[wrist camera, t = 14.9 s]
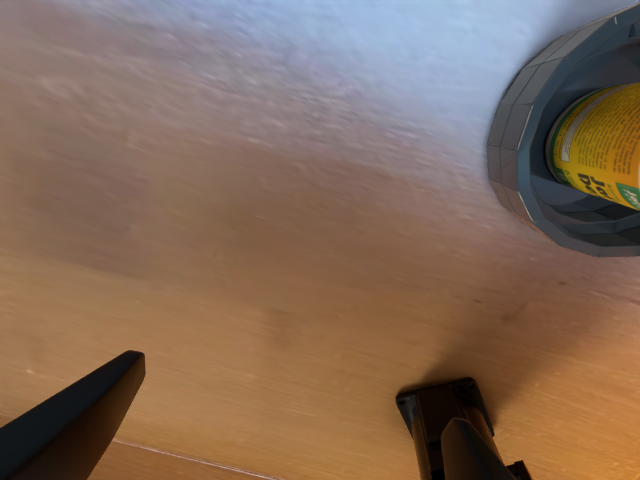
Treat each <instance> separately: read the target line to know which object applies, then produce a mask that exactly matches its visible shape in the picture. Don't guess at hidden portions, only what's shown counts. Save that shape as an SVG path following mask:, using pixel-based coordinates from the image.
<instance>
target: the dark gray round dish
mask: <svg viewBox="0 0 640 480" xmlns="http://www.w3.org/2000/svg"><path fill="white" fill-rule="evenodd" d="M638 82H640V2H638V3H636V4H633V5H631V6H628V7H626V8H623V9H621V10H618V11H616V12H613V13H611V14H608V15H606V16H604V17H601V18H599V19H597V20H595V21H593V22H590V23H588V24H586V25H584V26H582V27H580V28H577V29H575V30H573V31H571V32H569V33H567V34H565V35H562V36H560V37H559V38H558V39H557V40H555V41H554V42H553V43H552V44H551V45H550V46H548V47H547V48H546V49H545V50H544V51H543V52H541V53H540V54H539V55H538V56H537V57H536V58H535V59H533V60H532V61H531V62H530V63H529V64H528V65H526V66H525V67H524V68H523V70H522V71H521V72H520V74H519V75H518V77H517V78H516V80H515V81H514V83H513V84H512V86H511V87H510V89H509V90H508V92H507V93H506V95H505V96H504V98H503V99H502V101H501V102H500V104H499V107H498V108H497V111H496V115H495V118H494V121H493V125H492V128H491V132H490V135H489V138H488V142H487V157H488V173H489V180H490V182H491V184H492V186H493V188H494V190H495V192H496V194H497V196H498V198H499V200H500V202H501V204H502V205H503V207H505V208H506V209H507V210H508V211H510V212H511V213H512V214H513V215H514V216H516V217H517V218H518V219H519V220H521V221H522V222H523V223H524V224H526V225H527V226H529V227H530V228H532V229H534V230H535V231H537V232H538V233H540V234H542V235H543V236H545V237H546V238H548V239H550V240H551V241H553V242H554V243H556V244H558V245H560V246H561V247H565V248H568V249H571V250H575V251H578V252H581V253H584V254H588V255H591V256H594V257H629V256H640V210H637V209H633V208H631V207H628V206H625V205H622V204H618V203H616V202H613V201H610V200H607V199H604V198H600V197H597V196H595V195H592V194H589V193H585V192H583V191H579V190H576V189H574V188H571V187H568V186H566V185H564V184H562V183H561V182H559V181H558V180H557V179H556V178H555V177H554V176H553V174H552V173H551V171H550V169H549V167H548V165H547V161H546V155H545V149H546V142H547V138H548V135H549V133H550V130H551V128H552V126H553V125H554V123H555V121H556V120H557V119H558V117H559V116H560V115H561V114H562V113H563V112H564V111H565V109H566V108H568V107H569V106H570V105H571V104H572V103H574V102H575V101H577V100H578V99H580V98H581V97H583V96H585V95H587V94H589V93H591V92H593V91H596V90H598V89H601V88H605V87H609V86H615V85H621V84H631V83H638Z"/></svg>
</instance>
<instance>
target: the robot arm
mask: <svg viewBox="0 0 640 480" xmlns="http://www.w3.org/2000/svg"><path fill="white" fill-rule="evenodd" d="M144 377H145V355H144V353H142V352H138V351H133V350H128V351H126V352H124V353H122V354H121V355H119V356H117V357H116V358H114V359H113V360H111V361H109V362H108V363H106V364H104V365H103V366H101V367H99V368H98V369H96V370H95V371H93V372H91V373H90V374H88V375H86V376H85V377H83V378H81V379H80V380H78V381H77V382H75V383H73V384H72V385H70V386H68V387H67V388H65V389H63V390H62V391H60V392H59V393H57V394H55V395H54V396H52V397H50V398H49V399H47V400H45V401H44V402H42V403H41V404H39V405H37V406H36V407H34V408H32V409H31V410H29V411H27V412H26V413H24V414H23V415H21V416H19V417H18V418H16V419H14V420H13V421H11V422H9V423H8V424H6V425H5V426H3V427H1V428H0V480H87V478H88V477H89V475H90V474H91V472H92V471H93V469H94V468H95V466H96V464H97V463H98V461H99V460H100V458H101V457H102V455H103V454H104V452H105V450H106V449H107V447H108V446H109V444H110V442H111V441H112V439H113V437H114V436H115V434H116V432H117V430H118V428H119V426H120V424H121V422H122V421H123V419H124V417H125V415H126V413H127V411H128V409H129V407H130V405H131V403H132V401H133V399H134V397H135V395H136V393H137V392H138V390H139V388H140V386H141V384H142V382H143V380H144ZM471 384H472V385H471ZM395 399H396V404H397V406H398V409H399V411H400V413H401V415H402V417H403V419H404V421H405V423H406V425H407V427H408V430H409V432H410V434H411V436H412V438H413V440H414V444H415V450H416V455H417V460H418V466H419V471H420V477H421V480H533V478H532V476H531V474H530V472H529V471H528V469H527V467H526V465H525V464H524V462H523V460H521V461H517V462H514V464H512V465H508V466H505V465H504V463H503V461H502V458H501V456H500V454H499V451H498V449H497V447H496V445H495V442H494V440H493V438H492V437H494V435H495V434H494V431H493V428H492V425H491V422H490V419H489V416H488V414H487V411H486V408H485V405H484V402H483V399H482V397H481V394H480V391H479V388H478V385H477V383H476V381H475V380H474V379H472V378H466V379H462V380H458V381H453V382H449V383H445V384H441V385H436V386H432V387H428V388H424V389H419V390H415V391H411V392H406V393H402V394H399V395H397V396H396V398H395ZM401 400H403V401H401Z"/></svg>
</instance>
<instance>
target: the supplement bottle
mask: <svg viewBox="0 0 640 480" xmlns="http://www.w3.org/2000/svg"><path fill="white" fill-rule="evenodd" d="M545 155H546V161H547V165H548V167H549V169H550V171H551V173H552V174H553V176H554V177H555V178H556V179H557V180H558V181H559V182H561V183H562V184H564V185H566V186H568V187H571V188H574V189H576V190H579V191H583V192H585V193H589V194H592V195H595V196H597V197H600V198H604V199H607V200H610V201H613V202H616V203H618V204H622V205H625V206H628V207H631V208H633V209H637V210H640V82H638V83H631V84H621V85H615V86H609V87H605V88H601V89H598V90H596V91H593V92H591V93H589V94H587V95H585V96H583V97H581V98H580V99H578V100H577V101H575V102H574V103H572V104H571V105H570V106H569V107H568V108H566V109H565V111H564V112H563V113H562V114H561V115H560V116H559V117H558V119H557V120H556V121H555V123H554V125H553V126H552V128H551V130H550V133H549V135H548V138H547V142H546V149H545Z"/></svg>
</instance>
